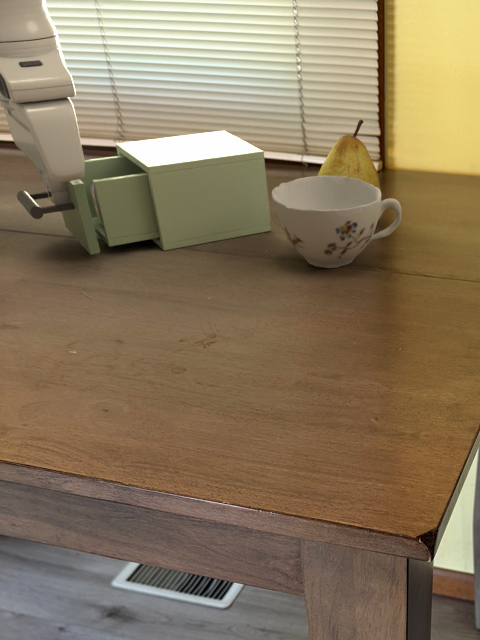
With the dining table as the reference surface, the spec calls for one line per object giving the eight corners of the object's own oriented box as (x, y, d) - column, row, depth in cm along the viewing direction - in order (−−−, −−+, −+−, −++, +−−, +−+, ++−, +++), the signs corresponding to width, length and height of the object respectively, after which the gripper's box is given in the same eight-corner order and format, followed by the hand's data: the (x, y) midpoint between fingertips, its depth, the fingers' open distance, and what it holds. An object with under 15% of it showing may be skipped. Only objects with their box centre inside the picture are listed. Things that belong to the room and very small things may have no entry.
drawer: (47, 262, 87) (26, 191, 82) (25, 233, 95) (5, 166, 90) (198, 235, 95) (188, 168, 90) (167, 210, 102) (156, 147, 97)
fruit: (317, 232, 99) (310, 131, 91) (316, 210, 106) (310, 114, 98) (382, 231, 100) (382, 130, 92) (377, 210, 107) (377, 114, 99)
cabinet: (164, 250, 93) (147, 167, 87) (132, 222, 101) (115, 143, 95) (271, 230, 99) (263, 151, 93) (233, 205, 107) (224, 130, 101)
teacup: (280, 282, 86) (273, 208, 81) (276, 244, 96) (269, 176, 90) (409, 275, 88) (410, 204, 83) (393, 239, 98) (393, 172, 92)
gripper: (-27, 58, 86) (14, 187, 95) (10, 86, 73) (54, 233, 82) (31, 53, 89) (65, 179, 98) (76, 80, 76) (112, 222, 85)
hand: (60, 204), depth 90 cm, fingers closed, pressing on drawer
